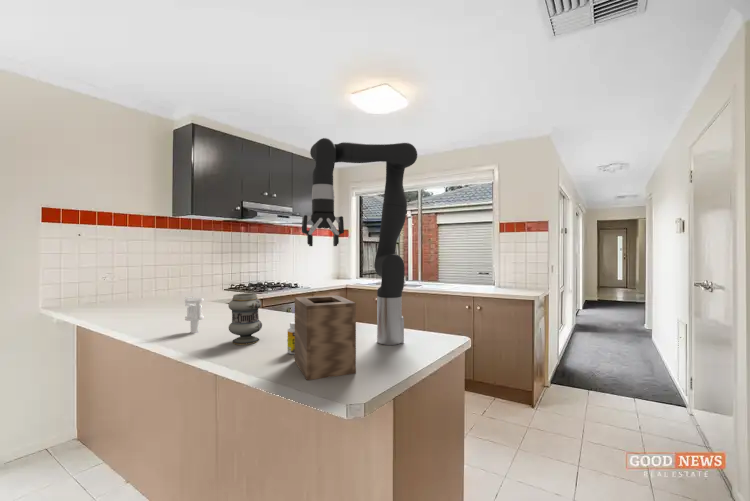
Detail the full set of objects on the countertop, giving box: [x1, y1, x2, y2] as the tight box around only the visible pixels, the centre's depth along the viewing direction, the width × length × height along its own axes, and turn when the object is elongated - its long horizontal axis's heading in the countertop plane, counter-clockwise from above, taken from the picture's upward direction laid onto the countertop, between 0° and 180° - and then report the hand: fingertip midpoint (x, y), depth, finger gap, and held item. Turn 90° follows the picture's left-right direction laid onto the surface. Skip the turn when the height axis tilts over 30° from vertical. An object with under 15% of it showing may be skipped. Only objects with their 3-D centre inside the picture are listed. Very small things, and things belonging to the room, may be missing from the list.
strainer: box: [184, 296, 205, 334], centre depth 153 cm, size 7×7×15 cm
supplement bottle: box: [287, 321, 295, 355], centre depth 124 cm, size 6×6×10 cm
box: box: [294, 294, 357, 381], centre depth 109 cm, size 14×18×20 cm
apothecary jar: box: [228, 292, 263, 346], centre depth 138 cm, size 12×12×18 cm
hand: (323, 246), depth 125 cm, fingers open, 8 cm apart
